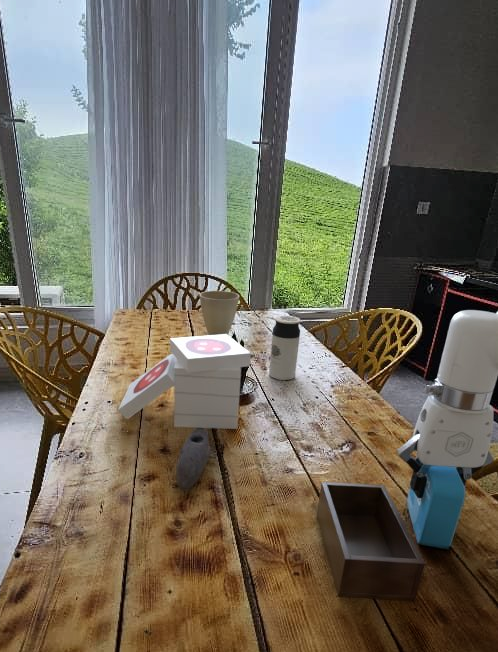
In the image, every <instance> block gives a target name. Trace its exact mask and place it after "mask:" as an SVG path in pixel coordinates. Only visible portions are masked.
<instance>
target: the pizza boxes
mask: <svg viewBox="0 0 498 652" xmlns="http://www.w3.org/2000/svg"><path fill="white" fill-rule="evenodd" d="M169 351H170V352H171V353H170V354H168V355H167V356H166V357H164V358H163V359H162V360H160V361H159V362H158V363H157V364H155V365H153V366H152V367H151V368H150V369H148V370H147V371H145V372H144V373H143V374H142V375H140V376H139V377H138V378H137V379H135V380H134V381H132V382H131V383H130V384H129V385H128V387H127V390H126V392H125V394H124V396H123V398H122V400H121V402H120V405H119V406H118V409H117V411H118V412H119V413H120V414H121V415H122V416H123V417H124V419H126V420H129V419H130V418H131V417H133V416H134V415H136V414H137V413H138V412H139V411H141V410H142V409H144V408H145V407H147V406H148V405H149V404H150V403H152V402H153V401H155V400H156V399H157V398H159V397H160V396H162V395H163V394H165V393H166V392H167V391H168V390H170V389H172V388H173V387H174V389H173V391H174V392H173V393H174V394H173V395H174V396H173V397H174V400H173V402H174V404H173V405H174V407H173V410H174V411H173V412H174V413H173V421H174V422H173V426H174V428H194V429H196V428H199V429H227V430H238V425H239V409H240V408H239V407H240V394H241V376H242V368H244V367H245V368H246V367H250V366H251V354H252V353H251V351H249V350H247V348H245V347H244V346H242V345H241V343H239V342H238V341H236V340H235V339H234V338H233V337H231V335H229V334H228V335H227V334H219V335H208V334H207V335H194V336H181V337H170V338H169Z"/></svg>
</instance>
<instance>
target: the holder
mask: <svg viewBox="0 0 498 652" xmlns="http://www.w3.org/2000/svg"><path fill="white" fill-rule="evenodd" d="M319 490H320V491H319V496H318V503H317V509H316V516H317V520H318V521H317V522H318V525H319V528H320V531H321V537H322V540H323V543H324V547H325V552H326V555H327V559H328V563H329V567H330V570H331V575H332V579H333V582H334V586H335V590H336V594H337V597H339V598H356V599H372V600H373V599H375V600H391V601H408V602H415V601H416V598H417V595H418V591H419V587H420V585H421V580H422V576H423V573H424V569H425V566H426V562H425V560H424V559H423V557H422V554H421V553H420V551H419V548H418V547H417V545H416V543H415V541H414V540H413V538H412V536H411V534H410V531H409V530H408V528H407V526H406V524H405V522H404V519H403V518H402V516H401V514H400V513H399V510H398V509H397V508H398V507H397V506H396V504H395V503H394V501H393V499H392V497H391V495H390V493H389V491H388V489H387V487H386V485H385V484H368V483H367V484H366V483H350V482H348V483H347V482H331V481H330V482H329V481H321V483H320V489H319Z"/></svg>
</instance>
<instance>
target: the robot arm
mask: <svg viewBox="0 0 498 652" xmlns="http://www.w3.org/2000/svg"><path fill="white" fill-rule="evenodd" d="M497 380H498V311H496V312H490V311H486V310H477V309H466V310H465V309H464V310H460V311H458V312H457V313H455V314H454V315H453V316H452V318H451V320H450V322H449V326H448V330H447V335H446V339H445V343H444V347H443V351H442V354H441V359H440V363H439V367H438V371H437V376H436V378H435V379H434V383H432V384H427V385H426V386H425V394H427V395H428V397H427V398H426V400H425V402H424V404H423V406H422V408H421V410H420V412H419V414H418V417H417V421H416V422H415V423H416V424H415V425H414V428H413V429H414V430H413V433H412V436H411V438H410V439H409V440H407V441H406V442H405V443H404V444H402V445H401V446H400V447H399V448H397V450H396V453H397V456H399V458H400V459H401V460H402V461H403V462H405V463H406V464H407V466H409V467H410V469H411V470H412V474H411V477H410V481H409V488H410V487H411V489H412V490H413V491H414V493H415V495H416V496H417V498H422V497H423V494H424V490H425V486H426V482H427V477H426V476H425V474H426V473H427V471H428V469H429V468H430V466H445V467H456V470H457V472H458V474H459V476H460V478H461V480H462V482H463V484H464V486H465V485H466V483H467V481H469V480H471V479H472V477H473V475H474V474H475V473H477V472H479V471H480V470H482V468H483V467H485V466H488V465H489V464H491V463H493V462H494V461H495V458H494V456H493V455H492V453H491V451H490V450H489V449H490V445H491V442H492V436H493V429H494V407H493V406H492V405H491V404H490V402H491V400H492V396H493V393H494V389H495V386H496V383H497ZM413 452H416V455H415V457H414V456H413V455H412V453H413ZM465 487H466V486H465Z"/></svg>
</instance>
